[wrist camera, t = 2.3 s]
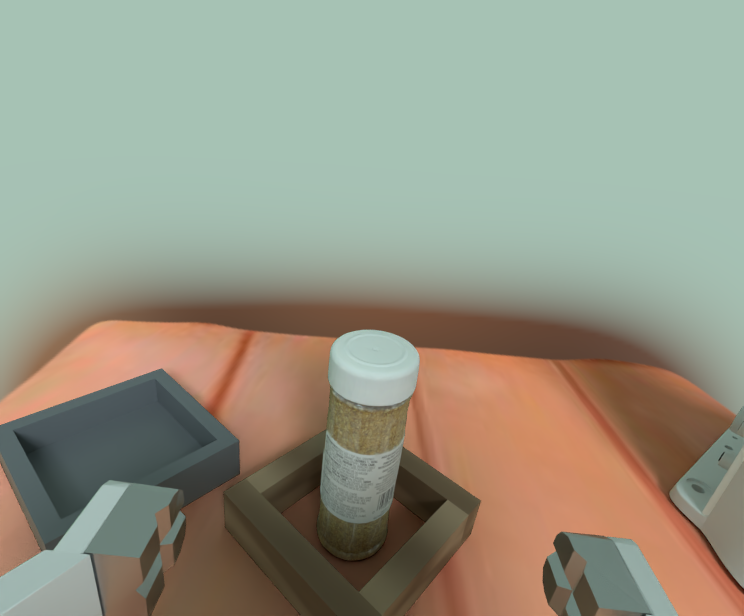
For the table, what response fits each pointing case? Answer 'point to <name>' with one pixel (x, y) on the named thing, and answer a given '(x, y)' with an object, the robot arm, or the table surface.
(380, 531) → the sprinkles bottle
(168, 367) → the table surface
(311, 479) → the socket block
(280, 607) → the table surface
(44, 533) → the tray
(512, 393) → the table surface
